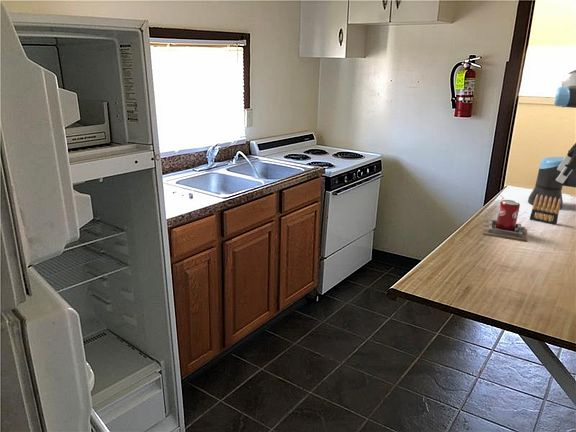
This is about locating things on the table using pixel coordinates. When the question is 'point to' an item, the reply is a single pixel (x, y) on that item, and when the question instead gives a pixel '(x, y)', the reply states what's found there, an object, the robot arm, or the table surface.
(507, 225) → the soda can
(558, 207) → the ammunition clip
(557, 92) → the robot arm
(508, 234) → the keeper board
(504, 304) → the table surface
